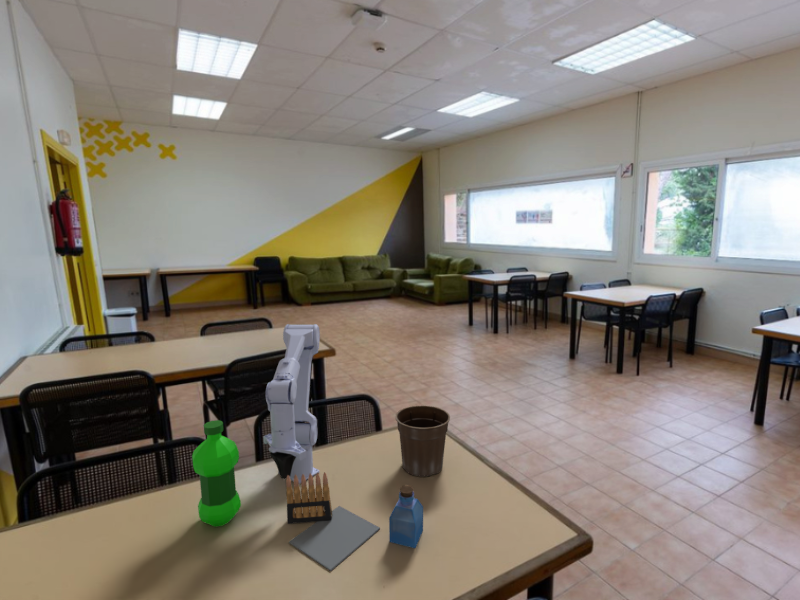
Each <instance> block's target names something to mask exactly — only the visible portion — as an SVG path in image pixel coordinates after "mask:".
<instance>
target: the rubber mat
mask: <svg viewBox="0 0 800 600" xmlns="http://www.w3.org/2000/svg"><path fill="white" fill-rule="evenodd" d="M380 530H381V527H379V526H377V525H375V524H374V523H372V522H370V521H368V520H367V519H366V518H363V517H361V516H359V515H357V514H355V513H353V512H352V511H350V510H348V509H346V508H344V507H343V506H340V505H339V506H337V507H336V508H334V509H332V520H329V521H317V522H313V524H312V525H310V526H308V527H307V528H306V529H304V530H303V531H301V532H299V534H297V535H296V536H295V537H293V538H291V540H289V542H288V544H290V545H291V546H292V547H294V548H296V549H297V550H299V551H300V552H302V554H303V553H304V555H306V556H307V557H308V558H310V559H312V560H313V561H315V562H316V563H318V564H319V565H320V566H322V567H324V568H325V569H327V570H329V571H330V572H331V571H333V570H334V569H335V568H337V567H338V566H339V565H340V564H341V563H342V562H343V561H345V560H346V559H347V558H348V557H349V556H350V555H352V554H353V553H354V552H355V551H356V550H357V549H359V548H360V547H361V546H362V545H363V544H365V543H366V542H367V541H368V540H370V539H371V538H372V537H373V536H374V535H375V534H376V533H377V532H378V531H380Z"/></svg>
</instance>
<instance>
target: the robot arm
mask: <svg viewBox="0 0 800 600" xmlns="http://www.w3.org/2000/svg"><path fill="white" fill-rule="evenodd" d="M320 332H321V331H320V326H319V325H318V324H316V323H314V324H290V323H287V324H285V326H284V328H283V332H282V333H283V334H282V335H283V336H282V337H283V338H282V339H283V344H284V345H285V349H286V350H285V355H284V358H282V359H280V360H279V361H278V365H277V367H276V370H275V373H274V375H273V379H272V380H271V381H269V382H268V383H267V385H266V388H265V401H266V403H267V410H268V411H269V412H270V413H269V414H270V428H271V430H270V431H271V433H268V434H265V435H263V437H262V438H263V444H264V445H269V447H268V451H269V452H270V453H269V455H270V457H271V458H272V460H273V461H274V463H275V465H276V467H277V470H278V471H277V472H278V474H279V476H280V478H281V479H283V480H286V479H287V475H289V477H290V479H291V482H293V483H294V476H295V474H296V475H297V478H298V481H299V485H300V484H301V477H302V474H304V476H305V479H306V481H307V480H308V479H309V474H310V473H311V475H312V477H314V476H316V474H317V473H318V474H319V473H320V472H321V471H320V469H318V468H315V467H314V463H313V461H314V459H313V446H314V445H315V444H316V443H317V439H318V419H317V417H316V416H315V415H313V414H312V413H311V412H310V411H309V402H310V388H311V386H310V385H311V371H312V370H311V369H312V362H313V361H312V360H313V357H314V355H316V354H318V353H319V349H320V338H321V337H320V336H321V333H320Z"/></svg>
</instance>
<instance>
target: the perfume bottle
mask: <svg viewBox="0 0 800 600" xmlns="http://www.w3.org/2000/svg"><path fill="white" fill-rule="evenodd" d="M419 500H420V499H418V498H415V491H414V487H413V485H409V484H403V485H401V486H400V487H399V494H398V501H397V502H396V504H395V506H394V507H393V509H392V511H391V513H390V516H388V517H389V519H388V520H389V521H388V523H389V527H388V528H389V534H388V536H389V543H392V544H396V545H401V546H404V547H409V548H412V549H417V546H418V543H419V541H420V539H421V536H422V534H423V531H424V506H423V505H422V503H421V501H419Z"/></svg>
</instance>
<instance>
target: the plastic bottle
mask: <svg viewBox="0 0 800 600" xmlns="http://www.w3.org/2000/svg"><path fill="white" fill-rule="evenodd" d="M223 431H224V422H223V421H222V420H219V419H218V420H210V421H207V422H206V423H204V424H203V432H204V435H206V439H205V440H204V441H202V442H201V443H200V444H199V445H198V446H197V447H196V448H195V449H194V450H193V451H192V455H191V459H192V468H193V470H194V473H195V474H197V475H199V483H200V484H199V485H200V493H201V494H200V499H199V502H198V504H197V510H198V511H197V512H198V516H199V517H198V518H199V520H200V521H202V522H203V524H204V523H205V524H207V525H210V526H212V527H215V528H217V527H223V526H225V525H226V524H229V522H230V521H232V520H233V518H234V517H235V516H236V515H237V514H238V512H239V511H240V508H241V505H242V502H241V498H240V494H239V492H238V490H236V489H237V488H236V475H235V467H236V465H237V464H238V463H239V459H240V452H239V449H238V446H237V444H236V442H235V441H234V440H232V439H230V438H229V437H226V436H224V435H222V432H223Z"/></svg>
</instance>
